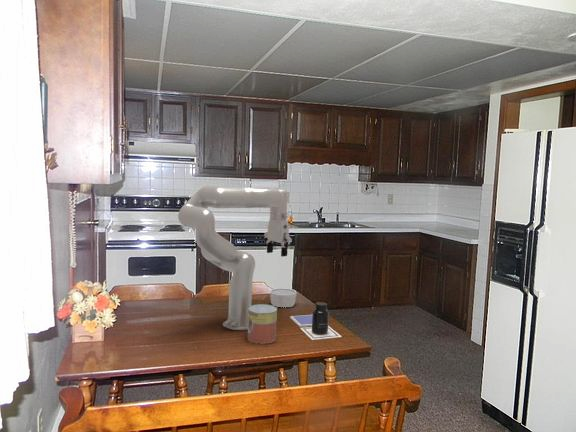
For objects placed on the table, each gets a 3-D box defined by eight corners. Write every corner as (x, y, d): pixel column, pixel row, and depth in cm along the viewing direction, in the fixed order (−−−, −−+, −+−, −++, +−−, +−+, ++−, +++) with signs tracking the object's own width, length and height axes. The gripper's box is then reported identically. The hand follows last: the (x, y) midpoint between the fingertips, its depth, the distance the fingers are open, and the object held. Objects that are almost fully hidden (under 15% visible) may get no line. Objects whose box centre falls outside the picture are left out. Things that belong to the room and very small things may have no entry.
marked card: (341, 337, 175) (341, 336, 174) (312, 340, 170) (312, 339, 170) (328, 326, 187) (328, 325, 187) (300, 328, 182) (300, 327, 182)
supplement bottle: (322, 336, 174) (323, 307, 173) (308, 332, 178) (309, 303, 177) (331, 331, 179) (332, 303, 178) (317, 327, 183) (318, 300, 182)
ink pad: (325, 325, 188) (325, 322, 188) (299, 327, 184) (300, 325, 184) (314, 316, 199) (314, 314, 199) (290, 318, 195) (290, 315, 195)
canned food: (244, 334, 174) (245, 305, 172) (270, 331, 178) (271, 303, 176) (251, 345, 163) (252, 314, 162) (279, 342, 167) (281, 312, 166)
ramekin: (266, 301, 219) (267, 288, 218) (291, 300, 223) (291, 287, 222) (273, 309, 206) (274, 295, 205) (299, 308, 210) (300, 294, 209)
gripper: (297, 218, 190) (296, 256, 192) (271, 214, 203) (270, 250, 204) (285, 219, 185) (283, 258, 187) (259, 215, 198) (258, 252, 199)
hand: (276, 254), depth 196 cm, fingers open, 9 cm apart
